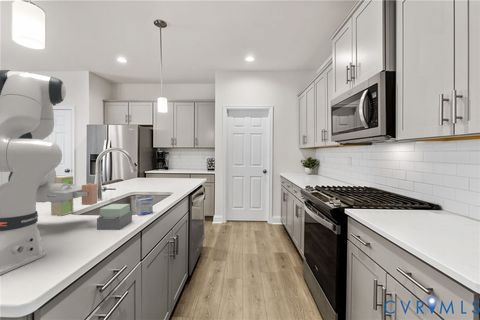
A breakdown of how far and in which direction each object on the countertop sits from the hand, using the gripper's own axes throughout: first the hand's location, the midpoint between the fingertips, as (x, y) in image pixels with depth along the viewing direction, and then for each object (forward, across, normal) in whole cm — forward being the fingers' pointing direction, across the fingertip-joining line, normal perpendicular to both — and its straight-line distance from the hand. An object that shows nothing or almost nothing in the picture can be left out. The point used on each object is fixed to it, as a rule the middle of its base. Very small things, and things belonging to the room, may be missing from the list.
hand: (91, 193), depth 115 cm
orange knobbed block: (-1, 0, +5) cm, 5 cm away
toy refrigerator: (-28, +23, +15) cm, 39 cm away
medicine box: (+16, +25, +16) cm, 33 cm away
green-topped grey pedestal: (+10, +3, +16) cm, 19 cm away
